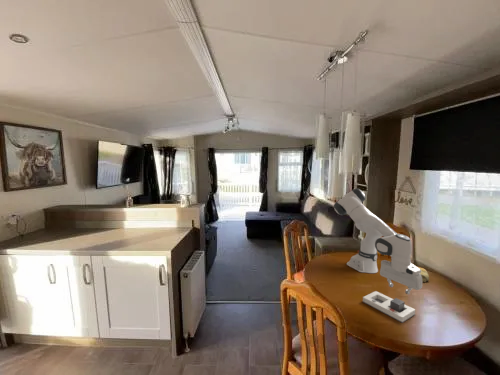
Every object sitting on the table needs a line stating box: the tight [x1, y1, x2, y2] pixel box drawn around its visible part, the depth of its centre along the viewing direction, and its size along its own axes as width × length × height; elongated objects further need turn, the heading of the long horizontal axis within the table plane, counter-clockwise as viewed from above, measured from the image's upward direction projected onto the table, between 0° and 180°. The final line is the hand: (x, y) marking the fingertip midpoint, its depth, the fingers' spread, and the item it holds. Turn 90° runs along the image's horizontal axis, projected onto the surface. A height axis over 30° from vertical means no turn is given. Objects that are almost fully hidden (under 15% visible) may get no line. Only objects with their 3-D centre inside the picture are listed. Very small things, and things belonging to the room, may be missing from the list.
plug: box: [390, 297, 406, 313], centre depth 131 cm, size 4×6×6 cm
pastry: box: [415, 265, 430, 283], centre depth 171 cm, size 14×12×8 cm
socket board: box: [362, 290, 416, 324], centre depth 136 cm, size 22×13×4 cm, turn 31°
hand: (399, 290), depth 130 cm, fingers open, 7 cm apart
